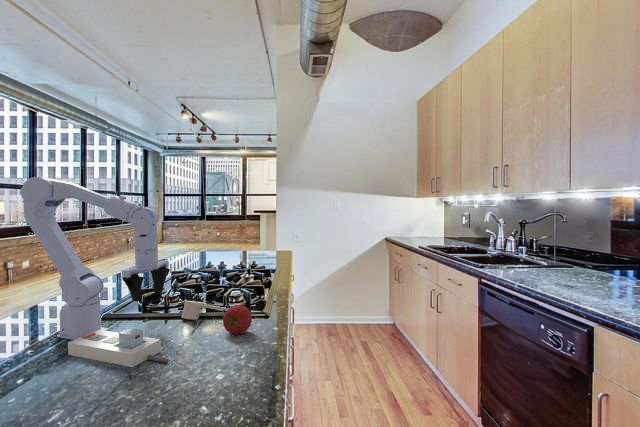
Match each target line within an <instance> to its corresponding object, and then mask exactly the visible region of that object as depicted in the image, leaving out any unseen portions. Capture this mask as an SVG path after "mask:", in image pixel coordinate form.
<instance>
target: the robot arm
mask: <svg viewBox="0 0 640 427" xmlns="http://www.w3.org/2000/svg"><path fill="white" fill-rule="evenodd" d="M18 193H19V195H20V196H21V198H22V200H23V201H22V202H23V204H22V205H23V216H24V219H25V221H26V223H27V224H28V226H29V227H30V229H31V231H32V232H33V233H34V235H35V236H36V239H37V240H38V241H39V243H40V244H41V246H42V247H43V249H44V251H45V252H46V254H47V255H48V257H49V259H50V260H51V262H52V263H53V265H54V267H55V268H56V270H57V271H58V274H60V278H59V282H58V287H60V289H61V296H62V300H63V302H64V305H63V306H61V308H60V311H59V330H60V331H59V333H58V334H57V335H56V337H57V338H61V339H67V340H71V341H73V340H75V339H78V338H80V337H82V336H83V335H85V334H88V333H90V332H95V331H98V330H105V331H109V330H110V328H109V327H104V326H103V327H102V320H101V319H102V315H101V297H100V294H101V293H102V291H103V290H104V287H105V286H104V281H103V278H101V277H100V276H99V275H97V274H95V273H94V272H93V269H91V268H89V267H88V266H86V265H84V264H83V262H82V261H81V259H80V257H79V255H78V254H77V253H76V251H75V249H74V248H73V246H72V245H71V243H70V241H69V239H68V238H67V236H66V234H65V233H64V232H63V230H62V228H61V227H60V225H59V224H58V222H57V220H56V219H55V217H54V215H55V213H56V210H57V208H58V207H60V205H62V203H63V202H65V201H66V199H69V200H70V199H75V200H78V201H81V202H84V203H87V204H90V205H92V206H96V207H99V208H101V209H103V210H104V212H105V215H107V216H110V217H112V218H114V219H118V220H121V221H124V222H127V223H129V224H130V223H131V224H132V226H133V227H134V258H135V260H134V261H135V262H134V263H135V264H134V265H133V266H130V267H128V268H124V269H121V278H122V281H123V282H124V283H125V285H126V288H128V290H129V293H130V296H131V299H132V301H133V302H141V300H142V285H143V282H144V278H145V277H144V276H140V274H144V273H148V272H150V274H151V277H152V284H153V292H154V294H160V295H161V294H162V292H163V290H164V285H165V282H166V279H167V277H168V275H169V274H170V271H171V270H170V268H169V267H170V265H169V264H170V263H169V261H170V260H159V254H158V253H159V252H158V250H159V248H158V227H157V226H158V225H157V224H158V222H159V220H160V214H159V212H158V210H156V209H155V208H154V207H152V206H145V207H144V204H143V203H141V202H138V203H137V202H134V201H131V200H129V199H127V197H126V195H119V196H118V195H113V196H111V197H108V196H105V195H103V194H100V193H99V192H96V191H93V190H92V189H89V188H87V187H84V186H81V185H79V184H77V183H73V182H69V181H64V180H62V179H58V178H44V177H39V176H33V177H31V178H28V179H27V180H26V181H25V182H23V185H22V186H21V189H20V191H19V192H18Z"/></svg>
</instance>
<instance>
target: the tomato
mask: <svg viewBox="0 0 640 427" xmlns="http://www.w3.org/2000/svg"><path fill="white" fill-rule="evenodd" d="M252 317H253V316H252V313H251V311H250V309H249V308H248V307H246V306H245V305H240V304H239V305H238V304H236V305H235V304H234V305H232V306H230V308H229V309H228V310H227V311H225V312H224V314H223V318H222V323H223V327H224V329H225V331H227V332H228V333H229V334H231V335H238V336H239V335H242V334H244V333H245V332H247V331H248V329H249V328H250V327H251V325H252V321H253V318H252Z"/></svg>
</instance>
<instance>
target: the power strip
mask: <svg viewBox="0 0 640 427" xmlns="http://www.w3.org/2000/svg"><path fill="white" fill-rule="evenodd" d="M119 333H120V332H116V331H109V330H108V331H105V330H98V331H95V332H90V333H88V334H85V335H83V336H82V337H80V338H78V339H75V340H70V341H68V342H67V350H68V351H67V354H68V356H73V357H78V358H79V357H80V358H84V359H88V360H93V361H98V362H102V363H108V364H114V365H119V366H124V367H128V368H129V367H130V368H134V367H136V366H138V365H139V364H141V363H143V362H144V361H146V360H150V361H155V362H160V363H165V364H167V363H168V362H170V361H169V360H170V359H169V357H168V358H167V357H165V356H157V354H159V353H161V350H162V349H161V347H162V346H161V345H162V344H161V339H160V338H154V337H147V336H143V344H141V345H139V346H137V347H135V348H133V349H126V348H120V347H119Z"/></svg>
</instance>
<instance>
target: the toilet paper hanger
mask: <svg viewBox="0 0 640 427" xmlns="http://www.w3.org/2000/svg"><path fill="white" fill-rule="evenodd" d="M183 306H184V307H183V311H182V314H181V318H182V319H186V320H199V317H200V316H199V315H200V314H201V313H200V311H201V309H211V310H217V311H218V310H219V311H225V312H226V311H227V310H228V309H229V308H226V307H220V306H215V305H210V304H207V303H203V302H199V301H193V300H184V303H183Z"/></svg>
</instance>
